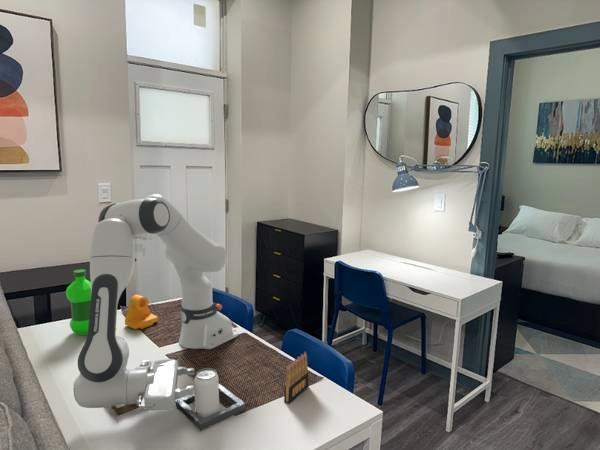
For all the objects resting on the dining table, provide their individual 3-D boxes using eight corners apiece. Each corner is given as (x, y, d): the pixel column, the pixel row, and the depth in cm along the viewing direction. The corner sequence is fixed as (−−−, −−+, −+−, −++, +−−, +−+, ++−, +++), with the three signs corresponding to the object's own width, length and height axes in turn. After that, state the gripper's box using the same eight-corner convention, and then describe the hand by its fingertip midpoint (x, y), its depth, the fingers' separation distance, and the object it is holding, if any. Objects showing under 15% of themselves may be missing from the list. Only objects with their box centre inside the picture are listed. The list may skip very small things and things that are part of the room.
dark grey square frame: (218, 388, 130) (218, 382, 130) (245, 409, 120) (245, 403, 120) (175, 406, 121) (175, 400, 121) (200, 431, 111) (200, 424, 111)
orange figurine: (135, 331, 169) (133, 302, 167) (125, 326, 174) (123, 298, 172) (158, 322, 178) (157, 295, 176) (148, 318, 182) (147, 291, 180)
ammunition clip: (289, 404, 123) (289, 365, 121) (283, 402, 124) (284, 364, 122) (308, 387, 132) (309, 351, 130) (303, 385, 133) (304, 349, 131)
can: (201, 404, 122) (200, 366, 120) (222, 407, 121) (221, 368, 119) (191, 418, 116) (189, 378, 114) (213, 421, 115) (212, 381, 113)
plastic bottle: (103, 326, 173) (99, 267, 168) (91, 338, 162) (86, 275, 158) (78, 326, 172) (73, 267, 168) (64, 338, 162) (59, 275, 157)
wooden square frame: (141, 383, 132) (141, 376, 132) (158, 400, 124) (157, 392, 124) (103, 398, 125) (102, 390, 124) (117, 416, 116) (117, 408, 116)
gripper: (134, 397, 104) (193, 390, 108) (145, 357, 124) (194, 352, 127) (136, 420, 106) (193, 413, 109) (146, 377, 125) (194, 372, 128)
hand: (194, 380), depth 118 cm, fingers open, 8 cm apart
